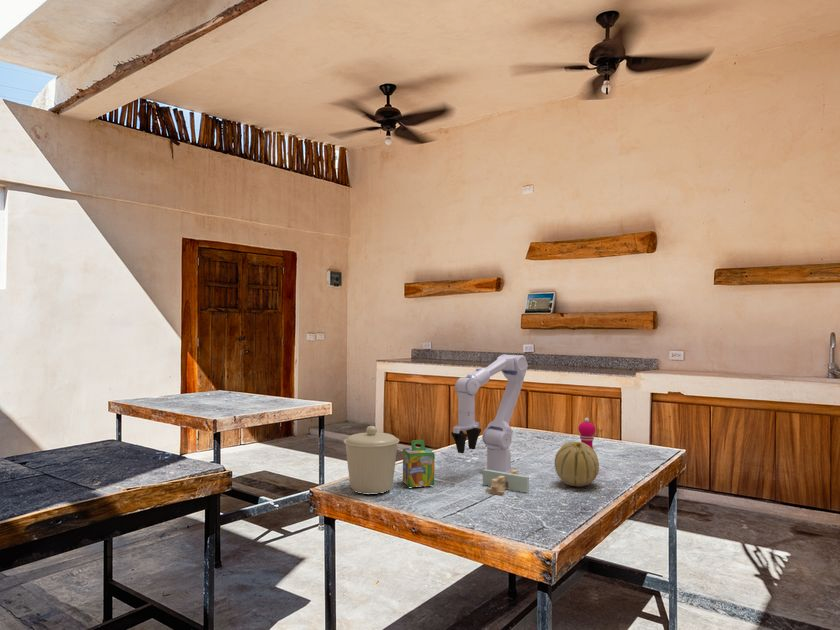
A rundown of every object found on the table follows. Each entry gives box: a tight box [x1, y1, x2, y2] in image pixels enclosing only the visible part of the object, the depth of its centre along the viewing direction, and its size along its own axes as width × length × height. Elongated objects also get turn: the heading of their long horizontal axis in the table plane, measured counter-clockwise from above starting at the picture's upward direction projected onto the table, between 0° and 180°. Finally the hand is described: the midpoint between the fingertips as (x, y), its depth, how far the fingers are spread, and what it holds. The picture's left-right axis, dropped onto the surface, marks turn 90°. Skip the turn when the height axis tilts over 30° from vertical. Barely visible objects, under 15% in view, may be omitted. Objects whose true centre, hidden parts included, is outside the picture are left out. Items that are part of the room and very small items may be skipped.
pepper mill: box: [578, 417, 596, 450], centre depth 210 cm, size 7×7×20 cm
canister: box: [343, 425, 400, 493], centre depth 186 cm, size 18×18×21 cm
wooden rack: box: [485, 469, 519, 496], centre depth 189 cm, size 16×6×4 cm, turn 145°
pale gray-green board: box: [482, 468, 530, 494], centre depth 189 cm, size 2×16×5 cm, turn 55°
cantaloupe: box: [554, 441, 600, 488], centre depth 192 cm, size 15×15×15 cm
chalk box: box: [402, 439, 436, 488], centre depth 193 cm, size 9×9×15 cm
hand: (466, 450), depth 200 cm, fingers open, 7 cm apart
